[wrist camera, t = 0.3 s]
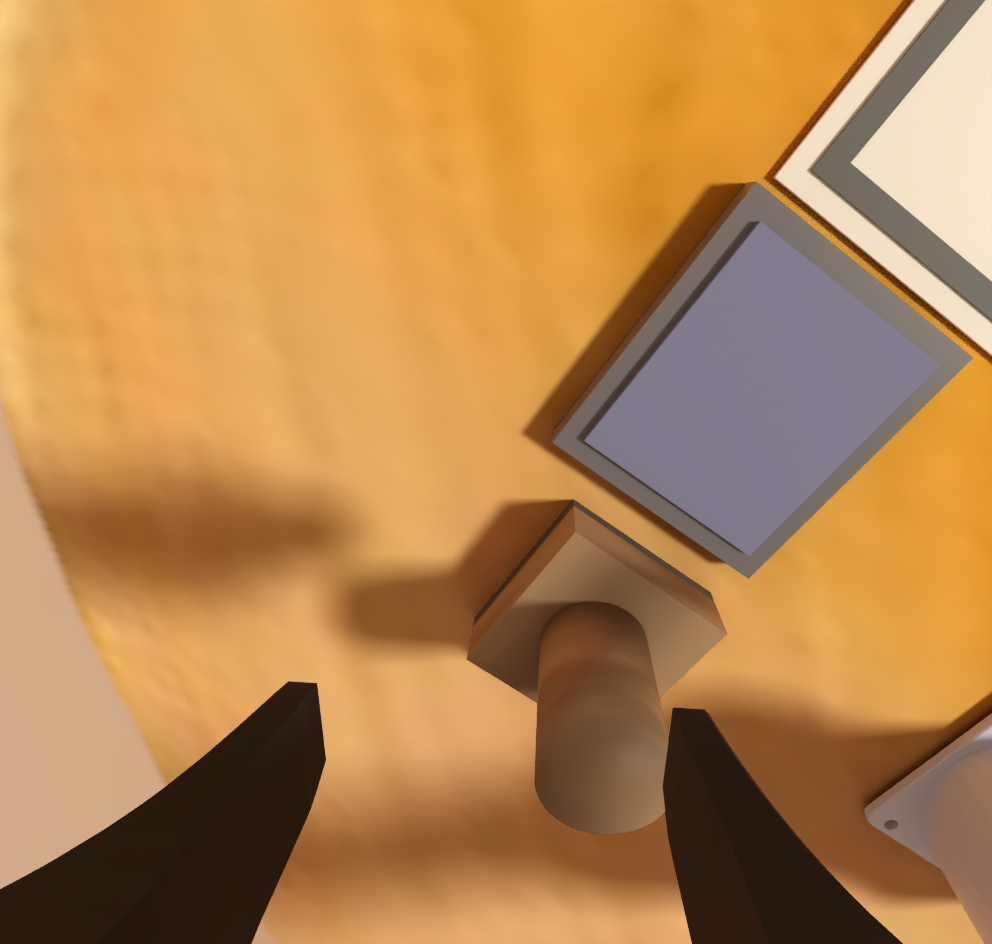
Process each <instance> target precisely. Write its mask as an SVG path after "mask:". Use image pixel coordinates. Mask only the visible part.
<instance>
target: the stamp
mask: <svg viewBox="0 0 992 944" xmlns="http://www.w3.org/2000/svg"><path fill="white" fill-rule="evenodd" d="M725 635H727V632H726V630H725V627H724V625H723V622H722V620H721V617H720V615H719V613H718V610H717V608H716V605H715V603H714V600H713V598H712V595H711V593H710V592H709V591H708V590H706V589H705V588H703V587H702V586H700V585H699V584H697V583H696V582H694V581H693V580H691V579H690V578H688V577H687V576H685V575H684V574H683V573H681V572H680V571H678V570H677V569H675V568H674V567H672V566H671V565H669V564H668V563H666V562H665V561H663V560H662V559H660V558H659V557H658V556H656V555H655V554H653V553H652V552H650V551H649V550H647V549H646V548H644V547H643V546H641V545H640V544H638V543H637V542H635V541H634V540H633V539H631V538H630V537H628V536H627V535H625V534H624V533H622V532H621V531H619V530H618V529H616V528H615V527H613V526H612V525H610V524H609V523H608V522H606V521H605V520H603V519H602V518H600V517H599V516H597V515H596V514H594V513H593V512H591V511H590V510H588V509H587V508H585V507H584V506H583V505H581V504H580V503H578V502H577V501H575V500H574V499H573V501H572V502H571V503H570V504H569V505H568V507H567V508H566V509H565V510H564V511H563V513H562V514H561V515H560V516H559V517H558V519H557V520H556V521H555V522H554V523H553V525H552V526H551V527H550V528H549V529H548V531H547V532H546V533H545V534H544V535H543V537H542V538H541V539H540V540H539V541H538V543H537V544H536V545H535V546H534V547H533V549H532V550H531V551H530V552H529V553H528V555H527V556H526V557H525V558H524V560H523V561H522V562H521V563H520V564H519V566H518V567H517V568H516V569H515V570H514V572H513V573H512V574H511V575H510V576H509V578H508V579H507V580H506V581H505V582H504V584H503V585H502V586H501V587H500V588H499V590H498V591H497V592H496V593H495V594H494V596H493V597H492V598H491V599H490V600H489V602H488V603H487V604H486V605H485V606H484V608H483V609H482V610H481V611H480V612H479V614H478V615H477V616H476V617H475V620H474V625H473V631H472V636H471V641H470V646H469V651H468V656H467V660H469V661H470V662H472V663H473V664H475V665H477V666H478V667H480V668H482V669H483V670H485V671H486V672H488V673H490V674H491V675H493V676H495V677H496V678H498V679H499V680H501V681H503V682H504V683H506V684H508V685H509V686H511V687H512V688H514V689H516V690H517V691H519V692H520V693H522V694H524V695H525V696H527V697H529V698H530V699H532V700H533V701H535V702H537V730H536V758H535V788H536V792H537V795H538V797H539V799H540V801H541V803H542V804H543V806H544V807H545V808H546V809H547V811H548V812H549V813H550V814H551V815H553V816H554V817H555V818H556V819H558V820H559V821H561V822H562V823H564V824H566V825H568V826H570V827H572V828H575V829H578V830H581V831H584V832H589V833H594V834H621V833H626V832H631V831H634V830H637V829H640V828H642V827H645V826H647V825H649V824H650V823H652V822H654V821H655V820H656V819H658V818H659V817H660V816H661V815H662V814H663V813H664V812H665V805H664V795H663V779H664V771H665V764H666V756H667V749H668V736H667V731H666V727H665V722H664V717H663V712H662V708H661V703H660V698H661V697H662V696H663V695H664V694H665V693H666V692H667V691H668V690H669V689H670V688H671V687H672V686H673V685H674V684H675V683H676V682H677V681H678V680H679V679H680V678H681V677H683V676H684V675H685V674H686V673H687V672H688V671H689V670H690V669H691V668H692V667H693V666H694V665H695V664H696V663H697V662H698V661H699V660H700V659H701V658H702V657H703V656H705V655H706V654H707V653H708V652H709V651H710V650H711V649H712V648H713V647H714V646H715V645H716V644H717V643H718V642H719V641H720V640H721V639H722V638H723V637H724V636H725Z"/></svg>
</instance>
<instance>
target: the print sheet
mask: <svg viewBox="0 0 992 944" xmlns="http://www.w3.org/2000/svg"><path fill="white" fill-rule="evenodd" d="M773 178H774V179H775V180H776V181H777V182H779V183H780V184H781V185H782V186H783V187H785V188H786V189H787V190H788V191H790V192H791V193H792V194H793V195H794V196H796V197H797V198H798V199H799V200H801V201H802V202H803V203H804V204H805V205H807V206H808V207H809V208H810V209H812V210H813V211H814V212H815V213H816V214H818V215H819V216H820V217H821V218H823V219H824V220H825V221H826V222H828V223H829V224H830V225H831V226H832V227H834V228H835V229H836V230H837V231H839V232H840V233H841V234H842V235H843V236H845V237H846V238H847V239H848V240H850V241H851V242H852V243H853V244H854V245H856V246H857V247H858V248H859V249H861V250H862V251H863V252H864V253H865V254H867V255H868V256H869V257H870V258H872V259H873V260H874V261H875V262H876V263H878V264H879V265H880V266H881V267H883V268H884V269H885V270H886V271H887V272H889V273H890V274H891V275H892V276H894V277H895V278H896V279H897V280H898V281H900V282H901V283H902V284H903V285H905V286H906V287H907V288H908V289H910V290H911V291H912V292H913V293H914V294H916V295H917V296H918V297H919V298H921V299H922V300H923V301H924V302H925V303H927V304H928V305H929V306H930V307H932V308H933V309H934V310H935V311H936V312H938V313H939V314H940V315H941V316H943V317H944V318H945V319H946V320H947V321H949V322H950V323H951V324H952V325H954V326H955V327H956V328H957V329H958V330H960V331H961V332H962V333H963V334H965V335H966V336H967V337H968V338H969V339H971V340H972V341H973V342H974V343H976V344H977V345H978V346H979V347H980V348H982V349H983V350H984V351H985V352H987V353H988V354H989V355H990V356H992V0H913V1H912V2H911V3H910V5H909V6H908V7H907V8H906V10H905V11H904V12H903V13H902V15H901V16H900V17H899V18H898V20H897V21H896V22H895V24H894V25H893V26H892V27H891V29H890V30H889V31H888V32H887V34H886V35H885V36H884V37H883V39H882V40H881V41H880V43H879V44H878V45H877V46H876V48H875V49H874V50H873V51H872V53H871V54H870V55H869V56H868V58H867V59H866V60H865V61H864V63H863V64H862V65H861V67H860V68H859V69H858V70H857V72H856V73H855V74H854V75H853V77H852V78H851V79H850V80H849V82H848V83H847V84H846V86H845V87H844V88H843V89H842V91H841V92H840V93H839V94H838V96H837V97H836V98H835V99H834V101H833V102H832V103H831V105H830V106H829V107H828V108H827V110H826V111H825V112H824V113H823V115H822V116H821V117H820V118H819V120H818V121H817V122H816V124H815V125H814V126H813V127H812V129H811V130H810V131H809V132H808V134H807V135H806V136H805V137H804V139H803V140H802V141H801V142H800V144H799V145H798V146H797V148H796V149H795V150H794V151H793V153H792V154H791V155H790V156H789V158H788V159H787V160H786V161H785V163H784V164H783V165H782V167H781V168H780V169H779V170H778V172H777V173H776V174H775V175H774V177H773Z"/></svg>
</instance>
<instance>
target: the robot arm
mask: <svg viewBox="0 0 992 944" xmlns="http://www.w3.org/2000/svg"><path fill="white" fill-rule="evenodd" d="M325 761H326V757H325V748H324V739H323V731H322V722H321V714H320V705H319V697H318V688H317V683H304V682H289V681H288V682H287V683H286V684H285V685H284V686H283V687H282V688H280V689H279V690H278V691H277V692H276V693H275V694H274V695H272V696H271V697H270V698H269V699H268V700H267V701H266V702H265V703H264V704H262V705H261V706H260V707H259V708H258V709H257V710H256V711H255V712H254V713H252V714H251V715H250V716H249V717H248V718H247V719H246V720H245V721H244V722H242V723H241V724H240V725H239V726H238V727H237V728H236V729H235V730H234V731H232V732H231V733H230V734H229V735H228V736H227V737H225V738H224V739H223V740H222V741H221V742H220V743H219V744H217V745H216V746H215V747H214V748H213V749H212V750H210V751H209V752H208V753H207V754H206V755H205V756H203V757H202V758H201V759H200V760H198V761H197V762H196V763H195V764H193V765H192V766H191V767H190V768H188V769H187V770H186V771H185V772H183V773H182V774H181V775H180V776H178V777H177V778H176V779H175V780H173V781H172V782H171V783H170V784H168V785H167V786H166V787H165V788H163V789H162V790H161V791H159V792H158V793H157V794H155V795H154V796H153V797H151V798H150V799H148V800H147V801H146V802H144V803H143V804H141V805H140V806H138V807H137V808H135V809H134V810H133V811H131V812H130V813H128V814H127V815H125V816H124V817H122V818H121V819H119V820H118V821H116V822H115V823H113V824H112V825H110V826H109V827H107V828H106V829H104V830H103V831H101V832H99V833H98V834H96V835H95V836H93V837H91V838H89V839H88V840H86V841H85V842H83V843H81V844H80V845H78V846H77V847H75V848H73V849H71V850H70V851H68V852H66V853H65V854H63V855H62V856H60V857H58V858H57V859H55V860H53V861H51V862H50V863H48V864H46V865H45V866H43V867H41V868H39V869H37V870H35V871H33V872H32V873H30V874H28V875H26V876H24V877H22V878H21V879H19V880H17V881H15V882H13V883H11V884H9V885H7V886H5V887H3V888H2V889H0V944H251V943H252V941H253V938H254V936H255V933H256V931H257V929H258V926H259V924H260V921H261V919H262V917H263V915H264V912H265V910H266V908H267V906H268V903H269V901H270V899H271V897H272V895H273V892H274V890H275V888H276V886H277V884H278V881H279V879H280V877H281V875H282V872H283V870H284V868H285V866H286V864H287V861H288V859H289V857H290V855H291V852H292V850H293V848H294V846H295V844H296V841H297V839H298V837H299V834H300V832H301V830H302V828H303V825H304V823H305V821H306V819H307V816H308V814H309V812H310V809H311V806H312V803H313V800H314V797H315V794H316V791H317V788H318V785H319V781H320V778H321V775H322V771H323V768H324V765H325ZM663 795H664V805H665V814H666V822H667V830H668V838H669V844H670V848H671V853H672V857H673V862H674V866H675V871H676V875H677V880H678V884H679V889H680V893H681V897H682V902H683V906H684V910H685V915H686V919H687V924H688V928H689V932H690V937H691V941H692V944H903V943H902V942H901V941H899V940H898V939H897V938H896V937H895V936H894V935H893V934H892V933H891V932H890V931H888V930H887V929H886V928H885V927H884V926H883V925H882V924H881V923H880V922H879V921H878V920H876V919H875V918H874V917H873V916H872V915H871V914H870V913H869V912H868V911H867V910H866V909H865V908H864V907H863V906H862V905H861V904H860V903H859V902H858V901H857V900H856V899H855V898H854V897H853V896H852V895H851V894H850V893H849V892H848V891H847V890H846V889H845V888H844V887H843V886H842V885H841V884H840V883H839V882H838V881H837V880H836V879H835V878H834V876H833V875H832V874H831V873H830V872H829V871H828V870H827V869H826V868H825V867H824V866H823V865H822V864H821V862H820V861H819V860H818V859H817V858H816V857H815V856H814V855H813V853H812V852H811V851H810V850H809V849H808V848H807V847H806V845H805V844H804V843H803V842H802V841H801V839H800V838H799V837H798V836H797V835H796V833H795V832H794V831H793V830H792V829H791V828H790V826H789V825H788V824H787V823H786V821H785V820H784V819H783V818H782V816H781V815H780V814H779V813H778V811H777V810H776V809H775V808H774V806H773V805H772V804H771V802H770V801H769V800H768V798H767V797H766V796H765V794H764V793H763V792H762V791H761V789H760V788H759V787H758V785H757V784H756V783H755V781H754V780H753V779H752V777H751V776H750V774H749V773H748V772H747V770H746V769H745V767H744V766H743V765H742V763H741V762H740V760H739V759H738V757H737V756H736V755H735V753H734V752H733V750H732V749H731V747H730V746H729V744H728V743H727V741H726V740H725V738H724V737H723V735H722V734H721V732H720V731H719V729H718V728H717V726H716V724H715V723H714V721H713V720H712V718H711V717H710V715H709V714H708V713H707V712H706V711H705V710H700V709H686V708H673V711H672V719H671V726H670V734H669V741H668V749H667V756H666V764H665V771H664V779H663ZM864 813H865V816H866V818H867V820H868V822H869V823H870V824H871V825H872V826H874V827H875V828H877V829H878V830H880V831H882V832H883V833H885V834H886V835H888V836H889V837H891V838H893V839H894V840H896V841H897V842H899V843H900V844H902V845H903V846H905V847H907V848H908V849H910V850H911V851H913V852H914V853H916V854H917V855H919V856H921V857H922V858H924V859H925V860H927V861H928V862H930V863H932V864H933V865H935V866H936V867H938V868H939V869H941V870H942V872H943V874H944V875H945V877H946V879H947V881H948V882H949V884H950V886H951V887H952V889H953V891H954V893H955V894H956V896H957V898H958V899H959V901H960V903H961V905H962V906H963V908H964V910H965V911H966V913H967V915H968V917H969V918H970V920H971V922H972V923H973V925H974V927H975V929H976V930H977V932H978V934H979V935H980V937H981V939H982V941H983V942H984V944H992V713H991V714H990V715H989V716H987V717H986V718H985V719H983V720H982V721H981V722H979V723H978V724H977V725H975V726H974V727H972V728H971V729H970V730H968V731H967V732H966V733H964V734H963V735H962V736H960V737H959V738H958V739H956V740H955V741H954V742H952V743H951V744H950V745H948V746H947V747H946V748H944V749H943V750H941V751H940V752H939V753H937V754H936V755H935V756H933V757H932V758H931V759H929V760H928V761H927V762H925V763H924V764H923V765H921V766H920V767H919V768H917V769H916V770H915V771H913V772H912V773H910V774H909V775H908V776H906V777H905V778H904V779H902V780H901V781H900V782H898V783H897V784H896V785H894V786H893V787H892V788H890V789H889V790H888V791H886V792H885V793H884V794H882V795H881V796H879V797H878V798H877V799H875V800H874V801H873V802H871V803H870V804H869V805H868V806H867V807H866V808H865V811H864ZM888 820H889V821H888Z"/></svg>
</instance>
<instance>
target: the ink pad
mask: <svg viewBox="0 0 992 944" xmlns="http://www.w3.org/2000/svg"><path fill="white" fill-rule="evenodd" d="M972 359H973V357H972V356H971V355H969V354H968V353H967V352H966V351H964V350H963V349H962V348H961V347H960V346H958V345H957V344H956V343H955V342H953V341H952V340H951V339H950V338H948V337H947V336H946V335H945V334H943V333H942V332H941V331H940V330H939V329H937V328H936V327H935V326H934V325H932V324H931V323H930V322H929V321H927V320H926V319H925V318H924V317H923V316H921V315H920V314H919V313H918V312H916V311H915V310H914V309H913V308H911V307H910V306H909V305H908V304H907V303H905V302H904V301H903V300H902V299H900V298H899V297H898V296H897V295H895V294H894V293H893V292H892V291H891V290H889V289H888V288H887V287H886V286H884V285H883V284H882V283H881V282H879V281H878V280H877V279H876V278H875V277H873V276H872V275H871V274H870V273H868V272H867V271H866V270H865V269H863V268H862V267H861V266H860V265H859V264H857V263H856V262H855V261H854V260H852V259H851V258H850V257H849V256H847V255H846V254H845V253H844V252H842V251H841V250H840V249H839V248H838V247H836V246H835V245H834V244H833V243H831V242H830V241H829V240H828V239H826V238H825V237H824V236H823V235H822V234H820V233H819V232H818V231H817V230H815V229H814V228H813V227H812V226H810V225H809V224H808V223H807V222H806V221H804V220H803V219H802V218H801V217H799V216H798V215H797V214H796V213H794V212H793V211H792V210H791V209H790V208H788V207H787V206H786V205H785V204H783V203H782V202H781V201H780V200H778V199H777V198H776V197H775V196H774V195H772V194H771V193H770V192H769V191H767V190H766V189H765V188H764V187H762V186H761V185H760V184H759V183H758V182H749V183H746V184H745V185H744V186H743V187H742V189H741V190H740V191H739V193H738V194H737V195H736V196H735V198H734V199H733V200H732V202H731V203H730V204H729V205H728V207H727V208H726V209H725V211H724V212H723V213H722V214H721V216H720V217H719V218H718V220H717V221H716V222H715V223H714V225H713V226H712V227H711V229H710V230H709V231H708V233H707V234H706V235H705V236H704V238H703V239H702V240H701V242H700V243H699V244H698V245H697V247H696V248H695V249H694V251H693V252H692V253H691V254H690V256H689V257H688V258H687V260H686V261H685V262H684V263H683V265H682V266H681V267H680V269H679V270H678V271H677V272H676V274H675V275H674V276H673V278H672V279H671V280H670V281H669V283H668V284H667V285H666V287H665V288H664V289H663V290H662V292H661V293H660V294H659V296H658V297H657V298H656V299H655V301H654V302H653V303H652V305H651V306H650V307H649V308H648V310H647V311H646V312H645V314H644V315H643V316H642V317H641V319H640V320H639V321H638V323H637V324H636V325H635V326H634V328H633V329H632V330H631V332H630V333H629V334H628V336H627V337H626V338H625V339H624V341H623V342H622V343H621V345H620V346H619V347H618V348H617V350H616V351H615V352H614V354H613V355H612V356H611V357H610V359H609V360H608V361H607V363H606V364H605V365H604V366H603V368H602V369H601V370H600V372H599V373H598V374H597V375H596V377H595V378H594V379H593V381H592V382H591V383H590V384H589V386H588V387H587V388H586V390H585V391H584V392H583V393H582V395H581V396H580V397H579V399H578V400H577V401H576V402H575V404H574V405H573V406H572V408H571V409H570V410H569V411H568V413H567V414H566V415H565V417H564V418H563V419H562V420H561V422H560V423H559V424H558V426H557V427H556V428H555V429H554V431H553V432H552V443H553V444H554V445H556V446H557V447H559V448H560V449H562V450H563V451H565V452H566V453H567V454H569V455H570V456H572V457H573V458H575V459H576V460H578V461H579V462H580V463H582V464H583V465H585V466H586V467H588V468H589V469H591V470H592V471H593V472H595V473H596V474H598V475H599V476H601V477H602V478H604V479H605V480H607V481H608V482H609V483H611V484H612V485H614V486H615V487H617V488H618V489H620V490H621V491H622V492H624V493H625V494H627V495H628V496H630V497H631V498H633V499H634V500H635V501H637V502H638V503H640V504H641V505H643V506H644V507H646V508H647V509H648V510H650V511H651V512H653V513H654V514H656V515H657V516H659V517H660V518H661V519H663V520H664V521H666V522H667V523H669V524H670V525H672V526H673V527H674V528H676V529H677V530H679V531H680V532H682V533H683V534H685V535H686V536H688V537H689V538H690V539H692V540H693V541H695V542H696V543H698V544H699V545H701V546H702V547H703V548H705V549H706V550H708V551H709V552H711V553H712V554H714V555H715V556H716V557H718V558H719V559H721V560H722V561H724V562H725V563H727V564H728V565H729V566H731V567H732V568H734V569H735V570H737V571H738V572H740V573H741V574H742V575H744V576H745V577H747V578H748V579H749V578H750V577H751V576H752V575H753V574H754V573H755V572H756V571H757V570H758V569H759V568H760V567H761V566H762V565H763V564H764V563H765V562H766V561H767V560H768V559H769V558H770V557H771V556H772V555H773V554H774V553H775V552H776V551H777V550H778V549H779V548H780V547H781V546H782V545H783V544H784V543H785V542H786V541H787V540H788V539H789V538H790V537H791V536H792V535H793V534H795V533H796V532H797V531H798V530H799V529H800V528H801V527H802V526H803V525H804V524H805V523H806V522H807V521H808V520H809V519H810V518H811V517H812V516H813V515H814V514H815V513H816V512H817V511H818V510H819V509H820V508H821V507H822V506H823V505H824V504H825V503H826V502H827V501H828V500H829V499H830V498H831V497H832V496H833V495H834V494H835V493H836V492H837V491H838V490H839V489H840V488H841V487H842V486H843V485H844V484H845V483H846V482H847V481H848V480H849V479H850V478H851V477H853V476H854V475H855V474H856V473H857V472H858V471H859V470H860V469H861V468H862V467H863V466H864V465H865V464H866V463H867V462H868V461H869V460H870V459H871V458H872V457H873V456H874V455H875V454H876V453H877V452H878V451H879V450H880V449H881V448H882V447H883V446H884V445H885V444H886V443H887V442H888V441H889V440H890V439H891V438H892V437H893V436H894V435H895V434H896V433H897V432H898V431H899V430H900V429H901V428H902V427H903V426H904V425H905V424H906V423H907V422H908V421H910V420H911V419H912V418H913V417H914V416H915V415H916V414H917V413H918V412H919V411H920V410H921V409H922V408H923V407H924V406H925V405H926V404H927V403H928V402H929V401H930V400H931V399H932V398H933V397H934V396H935V395H936V394H937V393H938V392H939V391H940V390H941V389H942V388H943V387H944V386H945V385H946V384H947V383H948V382H949V381H950V380H951V379H952V378H953V377H954V376H955V375H956V374H957V373H958V372H959V371H960V370H961V369H962V368H963V367H964V366H965V365H966V364H968V363H969V362H970V361H971V360H972Z"/></svg>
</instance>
